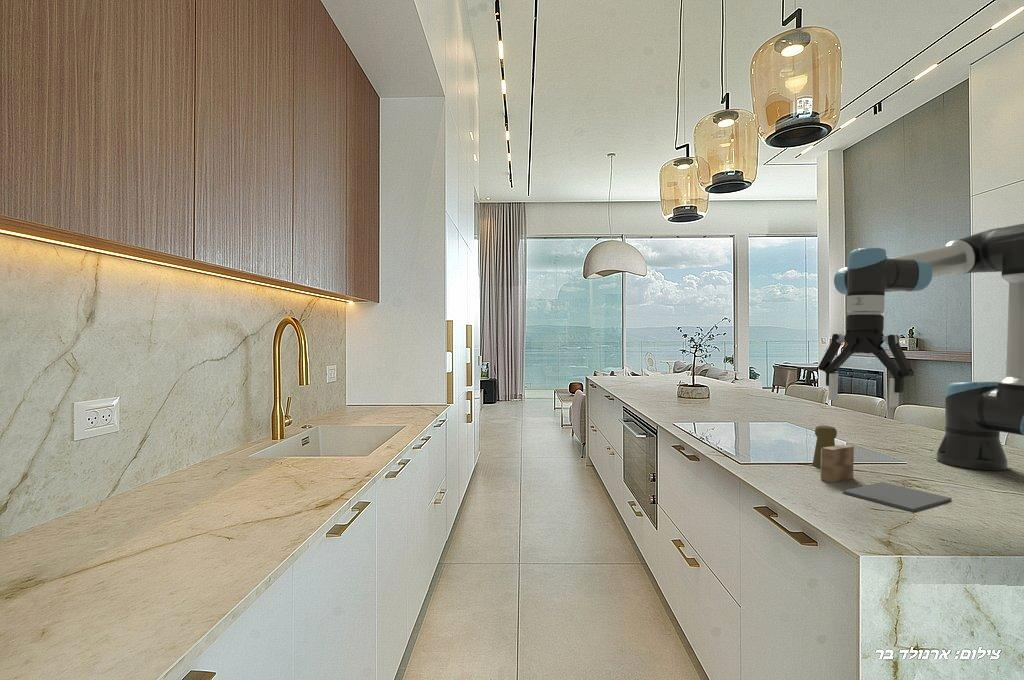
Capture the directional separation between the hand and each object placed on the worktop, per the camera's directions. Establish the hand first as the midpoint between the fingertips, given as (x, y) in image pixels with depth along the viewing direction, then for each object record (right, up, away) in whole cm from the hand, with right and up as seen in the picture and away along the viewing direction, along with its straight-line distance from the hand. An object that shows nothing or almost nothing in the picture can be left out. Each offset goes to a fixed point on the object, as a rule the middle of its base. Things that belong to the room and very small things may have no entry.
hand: (861, 403), depth 130 cm
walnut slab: (-3, -19, +5) cm, 20 cm away
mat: (+2, -20, -9) cm, 22 cm away
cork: (+2, -19, +18) cm, 27 cm away
